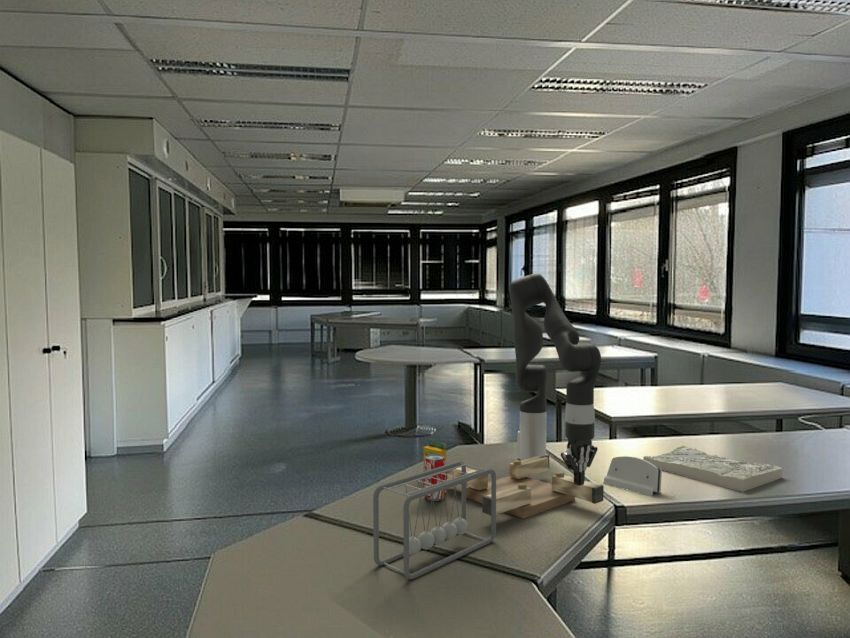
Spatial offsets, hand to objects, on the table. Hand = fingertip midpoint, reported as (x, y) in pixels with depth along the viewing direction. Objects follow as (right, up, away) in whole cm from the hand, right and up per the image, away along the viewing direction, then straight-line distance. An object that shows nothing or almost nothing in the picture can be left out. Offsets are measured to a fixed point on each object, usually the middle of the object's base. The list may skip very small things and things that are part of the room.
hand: (579, 484), depth 166 cm
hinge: (+22, -7, +23) cm, 33 cm away
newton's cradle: (-38, -10, -24) cm, 46 cm away
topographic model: (+52, -7, +39) cm, 66 cm away
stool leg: (+1, -5, +7) cm, 9 cm away
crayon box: (-38, -7, +32) cm, 50 cm away
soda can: (-38, -8, +14) cm, 41 cm away
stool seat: (-17, -7, +17) cm, 25 cm away
